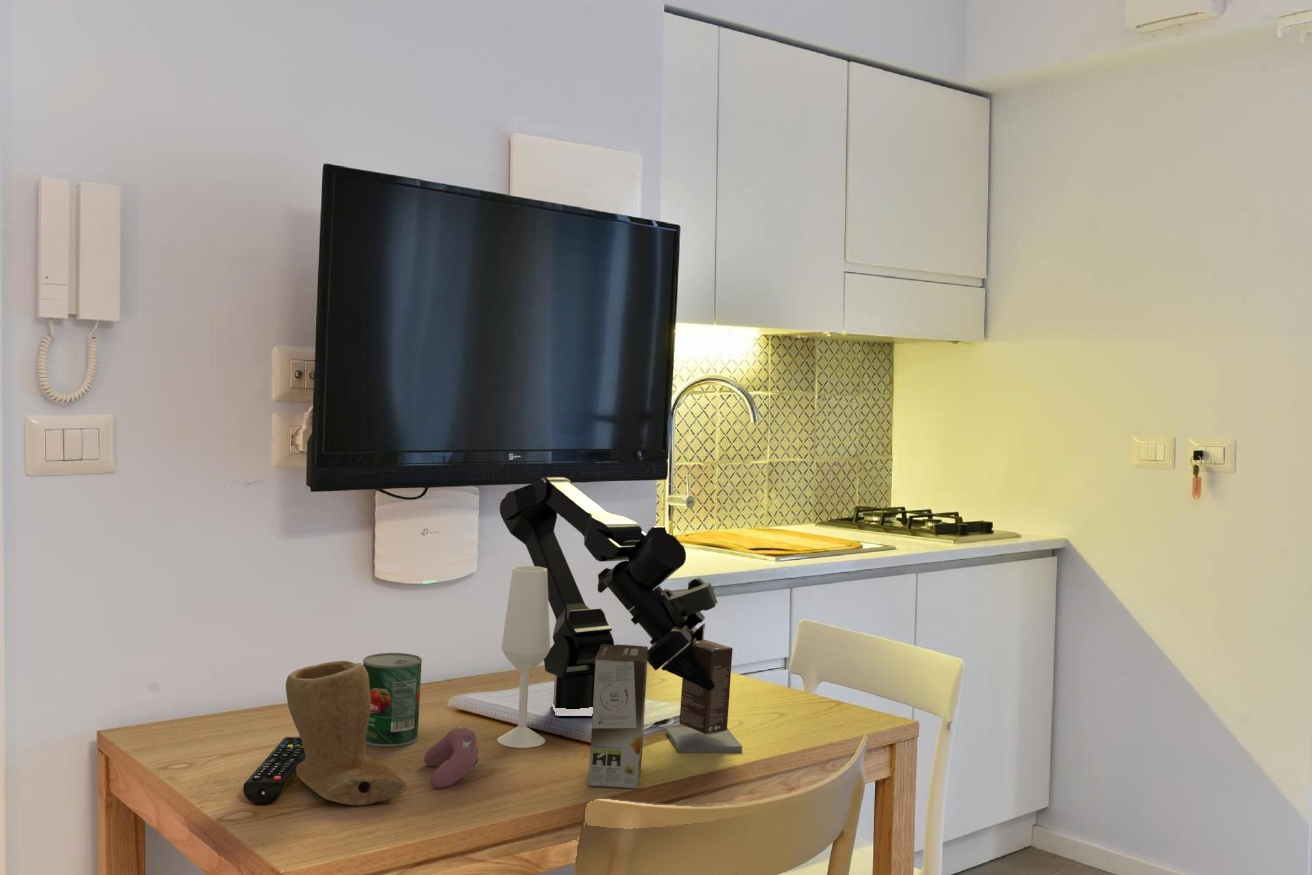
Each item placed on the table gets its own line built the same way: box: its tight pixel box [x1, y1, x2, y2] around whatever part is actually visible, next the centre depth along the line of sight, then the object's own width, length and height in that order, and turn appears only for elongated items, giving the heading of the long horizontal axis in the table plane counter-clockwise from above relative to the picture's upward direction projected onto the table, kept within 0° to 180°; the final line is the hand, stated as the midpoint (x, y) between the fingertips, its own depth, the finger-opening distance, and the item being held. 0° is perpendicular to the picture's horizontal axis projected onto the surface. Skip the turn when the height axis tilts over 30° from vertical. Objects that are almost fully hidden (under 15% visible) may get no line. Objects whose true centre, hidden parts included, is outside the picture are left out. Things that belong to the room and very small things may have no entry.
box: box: [679, 639, 734, 735], centre depth 162 cm, size 6×4×12 cm
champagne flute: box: [496, 565, 551, 749], centre depth 158 cm, size 7×7×24 cm
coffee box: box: [588, 644, 649, 790], centre depth 145 cm, size 9×6×16 cm
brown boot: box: [285, 660, 408, 806], centre depth 135 cm, size 15×12×15 cm
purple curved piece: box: [423, 725, 480, 790], centre depth 142 cm, size 10×5×7 cm, turn 17°
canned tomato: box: [362, 652, 423, 748], centre depth 156 cm, size 8×8×11 cm
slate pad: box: [665, 726, 743, 753], centre depth 162 cm, size 9×9×1 cm
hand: (715, 682), depth 161 cm, fingers closed on box, 7 cm apart
